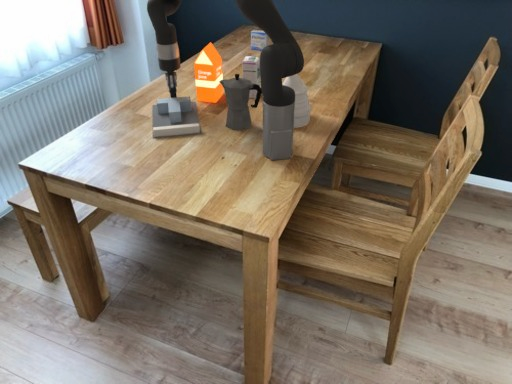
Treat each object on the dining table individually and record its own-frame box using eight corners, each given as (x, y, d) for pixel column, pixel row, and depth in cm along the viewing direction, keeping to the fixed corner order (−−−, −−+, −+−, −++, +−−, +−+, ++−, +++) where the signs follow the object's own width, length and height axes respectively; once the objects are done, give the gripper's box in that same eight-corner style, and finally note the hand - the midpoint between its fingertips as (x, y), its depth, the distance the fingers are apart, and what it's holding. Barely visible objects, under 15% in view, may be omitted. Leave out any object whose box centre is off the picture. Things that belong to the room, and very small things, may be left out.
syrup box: (257, 98, 168) (257, 61, 159) (242, 97, 169) (241, 60, 160) (260, 92, 172) (260, 56, 164) (245, 91, 173) (245, 55, 165)
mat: (201, 134, 145) (201, 133, 145) (152, 139, 142) (152, 138, 142) (195, 102, 166) (195, 101, 165) (152, 105, 163) (152, 105, 163)
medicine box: (250, 49, 215) (250, 31, 210) (253, 47, 218) (253, 29, 213) (266, 51, 213) (266, 33, 208) (268, 48, 216) (268, 30, 211)
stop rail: (199, 132, 146) (199, 125, 144) (154, 136, 143) (153, 130, 142) (199, 129, 147) (198, 123, 146) (154, 134, 145) (153, 127, 143)
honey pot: (279, 130, 147) (281, 78, 137) (268, 113, 157) (269, 64, 147) (315, 125, 150) (319, 74, 140) (302, 109, 160) (305, 61, 150)
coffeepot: (215, 126, 149) (211, 75, 139) (227, 115, 156) (225, 66, 146) (256, 135, 144) (256, 83, 134) (267, 123, 151) (268, 73, 140)
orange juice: (223, 94, 171) (221, 42, 160) (216, 103, 165) (212, 50, 153) (205, 92, 173) (201, 41, 161) (196, 101, 166) (192, 48, 155)
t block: (158, 109, 160) (156, 99, 158) (190, 106, 162) (189, 96, 160) (158, 124, 151) (156, 113, 148) (193, 120, 152) (192, 110, 150)
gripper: (180, 60, 149) (185, 107, 159) (178, 48, 159) (183, 93, 170) (157, 62, 148) (164, 109, 158) (157, 49, 158) (163, 95, 169)
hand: (174, 101), depth 164 cm, fingers closed
